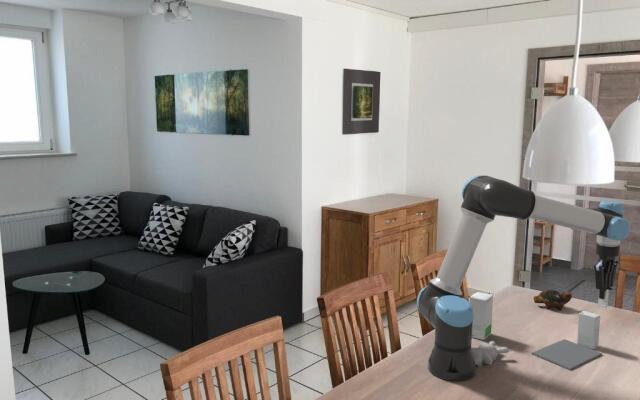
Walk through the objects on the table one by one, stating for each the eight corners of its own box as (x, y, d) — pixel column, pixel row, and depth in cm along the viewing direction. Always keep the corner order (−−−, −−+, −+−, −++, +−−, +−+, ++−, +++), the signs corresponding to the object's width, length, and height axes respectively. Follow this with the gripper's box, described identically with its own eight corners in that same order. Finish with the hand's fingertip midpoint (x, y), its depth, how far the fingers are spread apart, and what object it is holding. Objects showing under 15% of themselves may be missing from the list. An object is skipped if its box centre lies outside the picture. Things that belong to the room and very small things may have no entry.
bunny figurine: (459, 349, 181) (489, 334, 189) (460, 362, 182) (489, 347, 190) (481, 360, 173) (511, 344, 181) (482, 374, 174) (512, 357, 182)
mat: (569, 370, 175) (570, 368, 175) (531, 354, 186) (531, 352, 186) (601, 354, 186) (602, 353, 186) (564, 340, 197) (564, 339, 197)
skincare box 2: (598, 346, 192) (601, 314, 190) (593, 350, 190) (596, 317, 188) (581, 341, 197) (584, 309, 195) (575, 344, 194) (578, 312, 192)
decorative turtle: (573, 313, 224) (574, 295, 222) (535, 312, 228) (535, 294, 226) (568, 304, 233) (569, 286, 232) (532, 303, 237) (532, 286, 235)
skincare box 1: (483, 340, 197) (486, 300, 194) (466, 336, 201) (468, 296, 198) (491, 333, 203) (494, 294, 201) (475, 329, 207) (477, 290, 205)
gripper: (609, 249, 185) (603, 313, 189) (628, 243, 192) (622, 305, 196) (588, 244, 191) (583, 307, 195) (607, 239, 198) (601, 300, 202)
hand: (602, 306), depth 196 cm, fingers closed
